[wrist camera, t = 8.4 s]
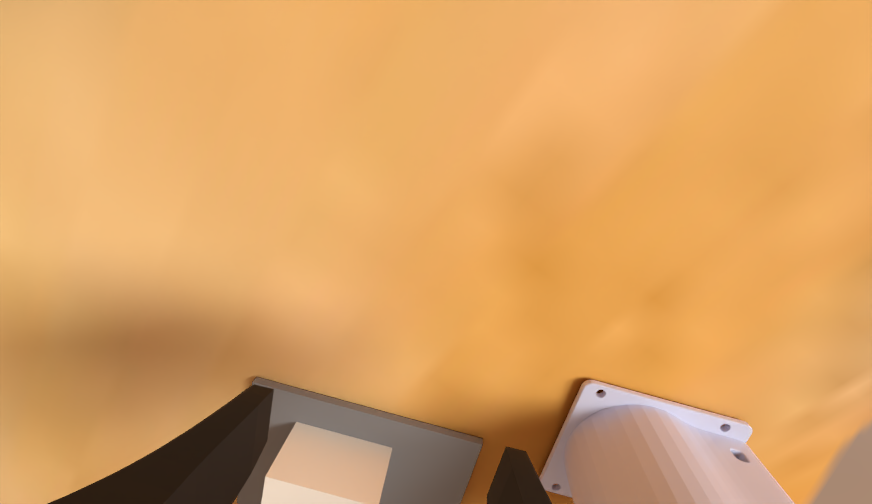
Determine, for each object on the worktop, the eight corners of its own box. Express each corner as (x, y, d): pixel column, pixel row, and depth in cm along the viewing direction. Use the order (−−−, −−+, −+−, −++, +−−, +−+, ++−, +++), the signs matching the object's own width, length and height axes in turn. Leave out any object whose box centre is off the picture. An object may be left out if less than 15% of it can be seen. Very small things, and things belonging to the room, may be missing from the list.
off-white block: (392, 447, 25) (378, 507, 22) (372, 517, 27) (356, 582, 24) (296, 421, 25) (265, 476, 22) (283, 493, 27) (253, 554, 24)
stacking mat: (482, 438, 25) (482, 444, 25) (440, 550, 29) (439, 558, 28) (256, 376, 25) (252, 381, 25) (240, 496, 28) (236, 503, 28)
